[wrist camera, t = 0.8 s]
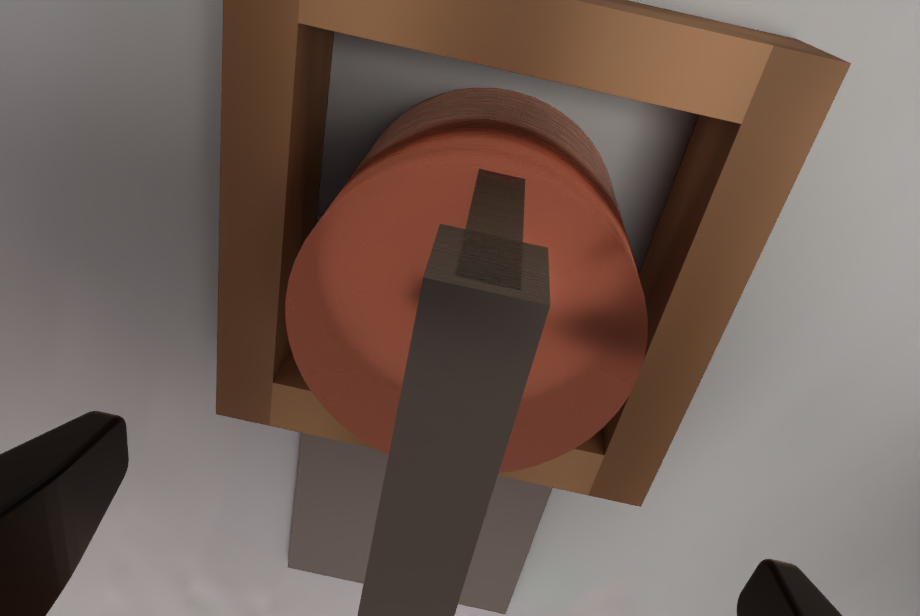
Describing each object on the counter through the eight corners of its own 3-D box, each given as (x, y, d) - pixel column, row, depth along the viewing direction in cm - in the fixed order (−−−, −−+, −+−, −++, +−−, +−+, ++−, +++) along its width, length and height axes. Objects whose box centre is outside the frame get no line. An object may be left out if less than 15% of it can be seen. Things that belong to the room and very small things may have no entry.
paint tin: (652, 122, 17) (786, 350, 8) (573, 353, 20) (602, 690, 11) (373, 58, 16) (187, 216, 8) (342, 302, 20) (190, 601, 11)
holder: (797, 39, 15) (850, 63, 13) (628, 435, 21) (641, 506, 19) (278, -80, 15) (224, -81, 13) (255, 353, 21) (216, 414, 19)
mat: (565, 442, 22) (566, 450, 21) (505, 604, 26) (505, 614, 26) (309, 386, 22) (305, 393, 21) (291, 558, 26) (287, 567, 25)
